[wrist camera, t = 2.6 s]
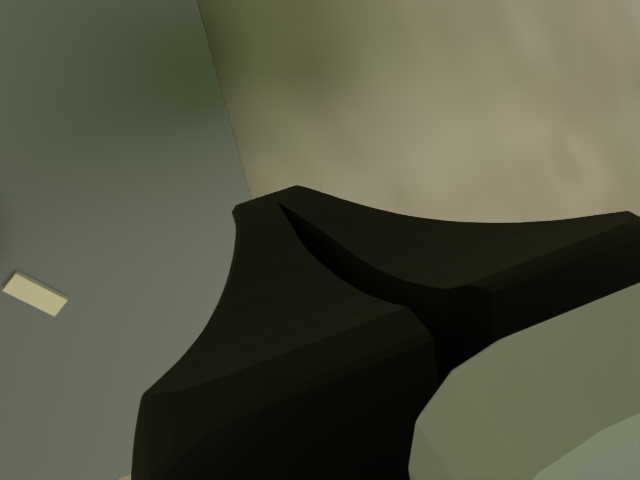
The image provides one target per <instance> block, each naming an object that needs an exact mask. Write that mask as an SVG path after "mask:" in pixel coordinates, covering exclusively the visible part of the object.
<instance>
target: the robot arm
mask: <svg viewBox="0 0 640 480" xmlns="http://www.w3.org/2000/svg"><path fill="white" fill-rule="evenodd" d="M232 215H233V218H234V222H235V225H236V236H235V245H234V253H233V258H232V262H231V266H230V270H229V274H228V278H227V281H226V284H225V287H224V289H223V292H222V294H221V297H220V299H219V302H218V304H217V306H216V308H215V310H214V312H213V313H212V315H211V317H210V319H209V321H208V323H207V325H206V326H205V328H204V330H203V331H202V332H201V334H200V335H199V336H198V338H197V339H196V340H195V342H194V343H193V344H192V345H191V347H190V348H189V349H188V350H187V351H186V353H185V354H184V355H183V356H182V357H181V358H180V359H179V360H178V361H177V362H176V363H175V364H174V365H173V366H172V367H171V368H170V369H169V370H168V371H167V372H166V373H165V374H164V375H163V376H162V377H161V378H160V379H159V380H158V381H156V382H155V383H154V384H153V385H152V386H151V387H150V388H149V389H148V390H146V391H145V392H144V393H143V395H142V397H141V400H140V405H139V410H138V416H137V422H136V428H135V436H134V444H133V454H132V469H131V480H640V217H639V216H637V215H635V214H633V213H631V212H629V211H624V212H616V213H609V214H601V215H594V216H587V217H579V218H572V219H564V220H553V221H537V222H521V223H477V222H455V221H443V220H435V219H427V218H420V217H413V216H407V215H401V214H397V213H392V212H388V211H383V210H379V209H375V208H371V207H367V206H364V205H360V204H357V203H353V202H350V201H347V200H343V199H340V198H337V197H334V196H331V195H328V194H325V193H322V192H319V191H316V190H313V189H309V188H306V187H302V186H297V185H296V186H293V187H290V188H287V189H283V190H280V191H277V192H274V193H271V194H268V195H265V196H262V197H259V198H256V199H253V200H249V201H246V202H243V203H240V204H237V205H236V206H235V207H234V209H233V211H232Z"/></svg>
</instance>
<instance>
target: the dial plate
mask: <svg viewBox="0 0 640 480" xmlns="http://www.w3.org/2000/svg"><path fill="white" fill-rule="evenodd" d="M249 200H251V196H250V193H249V189H248V186H247V182H246V178H245V175H244V171H243V167H242V164H241V160H240V156H239V153H238V149H237V146H236V142H235V138H234V135H233V131H232V127H231V124H230V120H229V116H228V113H227V109H226V105H225V102H224V98H223V95H222V91H221V87H220V84H219V80H218V76H217V73H216V69H215V65H214V62H213V58H212V55H211V51H210V47H209V44H208V40H207V36H206V33H205V29H204V25H203V22H202V18H201V14H200V11H199V7H198V4H197V0H0V480H116V479H119V478H121V477H124V476H126V475H129V474H131V469H132V454H133V444H134V436H135V428H136V422H137V416H138V410H139V405H140V400H141V397H142V395H143V393H144V392H145V391H146V390H148V389H149V388H150V387H151V386H152V385H153V384H154V383H155V382H156V381H158V380H159V379H160V378H161V377H162V376H163V375H164V374H165V373H166V372H167V371H168V370H169V369H170V368H171V367H172V366H173V365H174V364H175V363H176V362H177V361H178V360H179V359H180V358H181V357H182V356H183V355H184V354H185V353H186V351H187V350H188V349H189V348H190V347H191V345H192V344H193V343H194V342H195V340H196V339H197V338H198V336H199V335H200V334H201V332H202V331H203V330H204V328H205V326H206V325H207V323H208V321H209V319H210V317H211V315H212V313H213V312H214V310H215V308H216V306H217V304H218V302H219V299H220V297H221V294H222V292H223V289H224V287H225V284H226V281H227V278H228V274H229V270H230V266H231V262H232V258H233V253H234V245H235V236H236V225H235V222H234V218H233V215H232V211H233V209H234V207H235V206H236V205H237V204H240V203H243V202H246V201H249Z"/></svg>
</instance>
